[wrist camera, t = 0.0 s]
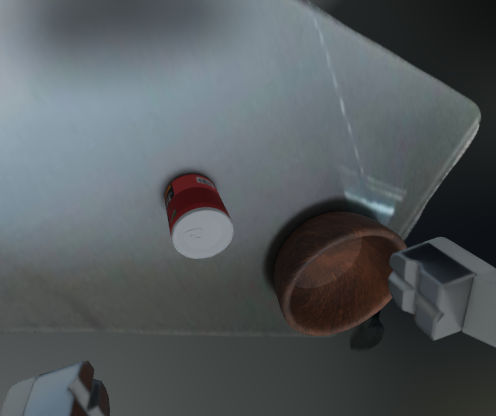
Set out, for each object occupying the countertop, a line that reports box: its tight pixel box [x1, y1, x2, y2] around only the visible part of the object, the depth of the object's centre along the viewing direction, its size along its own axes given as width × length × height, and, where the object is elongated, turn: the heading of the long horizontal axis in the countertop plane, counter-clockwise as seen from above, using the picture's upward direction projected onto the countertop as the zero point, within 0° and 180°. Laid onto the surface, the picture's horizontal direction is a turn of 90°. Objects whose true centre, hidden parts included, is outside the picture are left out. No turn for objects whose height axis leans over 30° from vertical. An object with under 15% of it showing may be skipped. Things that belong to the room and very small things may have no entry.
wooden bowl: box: [274, 212, 407, 336], centre depth 61 cm, size 25×25×10 cm
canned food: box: [165, 174, 234, 259], centre depth 45 cm, size 8×8×11 cm
